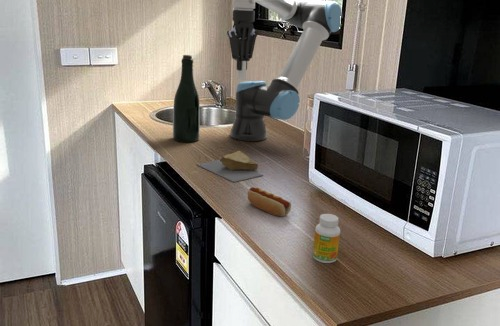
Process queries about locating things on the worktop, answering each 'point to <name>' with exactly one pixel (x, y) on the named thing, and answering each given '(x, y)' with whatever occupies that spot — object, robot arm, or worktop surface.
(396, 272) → the worktop surface
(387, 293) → the worktop surface
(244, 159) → the yellow wedge
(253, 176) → the mat
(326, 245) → the supplement bottle
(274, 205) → the food
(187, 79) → the dark green wine bottle
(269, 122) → the worktop surface
